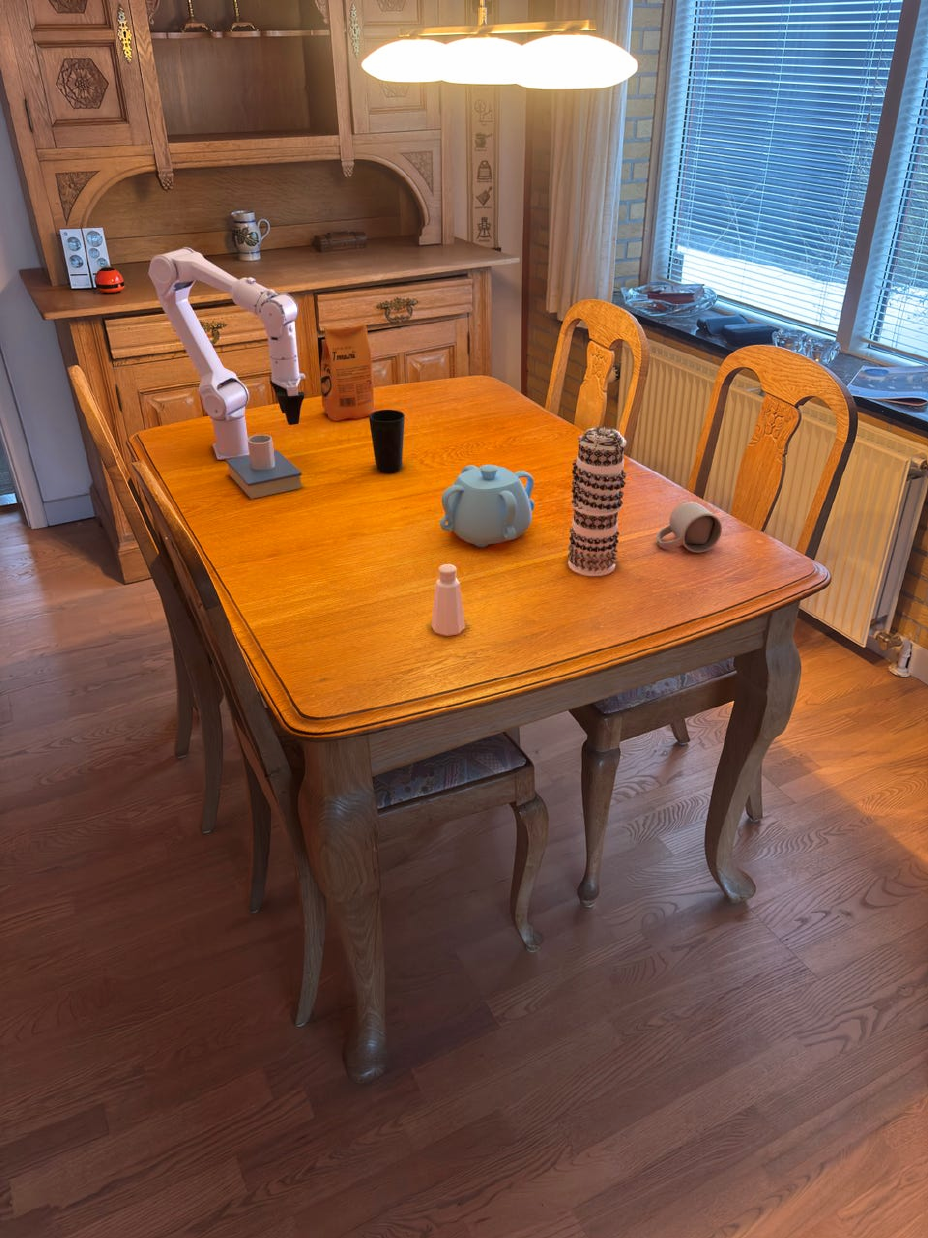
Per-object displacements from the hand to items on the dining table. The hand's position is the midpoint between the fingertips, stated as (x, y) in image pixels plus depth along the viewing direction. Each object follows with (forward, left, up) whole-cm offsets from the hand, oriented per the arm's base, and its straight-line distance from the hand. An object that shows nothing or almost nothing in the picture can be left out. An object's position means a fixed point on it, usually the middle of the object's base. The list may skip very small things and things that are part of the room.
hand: (290, 418), depth 202 cm
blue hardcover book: (+8, -8, -10) cm, 15 cm away
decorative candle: (+65, +41, -11) cm, 78 cm away
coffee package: (-27, +19, -11) cm, 35 cm away
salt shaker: (+76, +10, -11) cm, 77 cm away
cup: (+10, +19, -11) cm, 24 cm away
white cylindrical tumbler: (+8, -8, -7) cm, 13 cm away
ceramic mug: (+64, +61, -11) cm, 89 cm away
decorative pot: (+47, +28, -11) cm, 56 cm away
